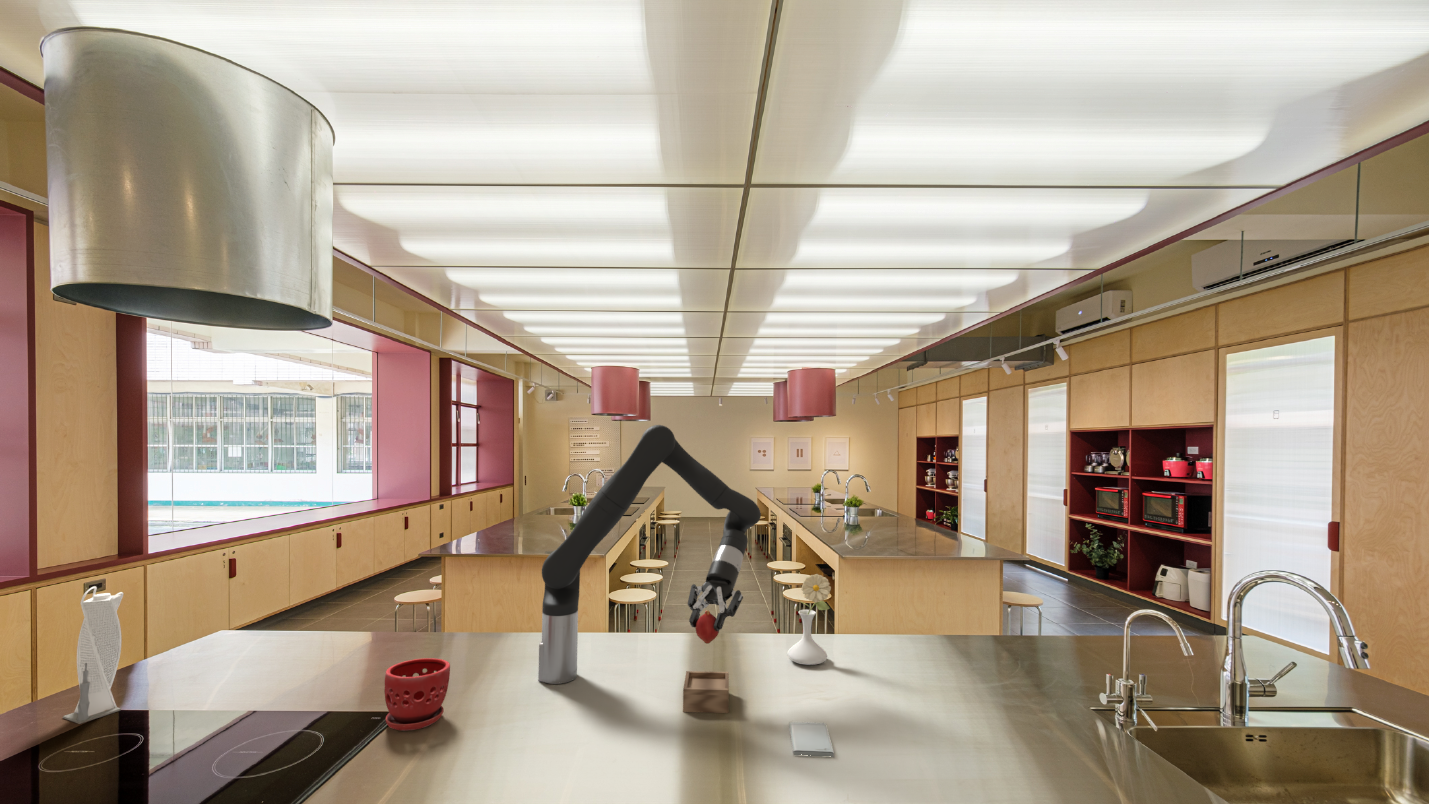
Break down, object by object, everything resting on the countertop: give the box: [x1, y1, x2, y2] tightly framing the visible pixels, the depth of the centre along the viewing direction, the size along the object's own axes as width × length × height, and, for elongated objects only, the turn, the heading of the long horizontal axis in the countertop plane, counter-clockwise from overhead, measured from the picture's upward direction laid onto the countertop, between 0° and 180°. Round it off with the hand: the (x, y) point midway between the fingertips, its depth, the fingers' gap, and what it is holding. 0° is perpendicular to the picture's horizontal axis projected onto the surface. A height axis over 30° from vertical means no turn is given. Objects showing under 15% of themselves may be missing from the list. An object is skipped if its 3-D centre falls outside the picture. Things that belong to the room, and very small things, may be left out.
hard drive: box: [788, 721, 835, 758], centre depth 127 cm, size 2×8×12 cm
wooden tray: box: [682, 670, 730, 714], centre depth 145 cm, size 11×11×5 cm
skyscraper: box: [62, 585, 125, 725], centre depth 138 cm, size 8×8×28 cm
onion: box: [694, 609, 720, 644], centre depth 146 cm, size 6×6×8 cm
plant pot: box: [383, 657, 451, 732], centre depth 135 cm, size 13×13×12 cm
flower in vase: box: [786, 573, 832, 666], centre depth 172 cm, size 13×11×25 cm
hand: (704, 627), depth 144 cm, fingers closed on onion, 5 cm apart
